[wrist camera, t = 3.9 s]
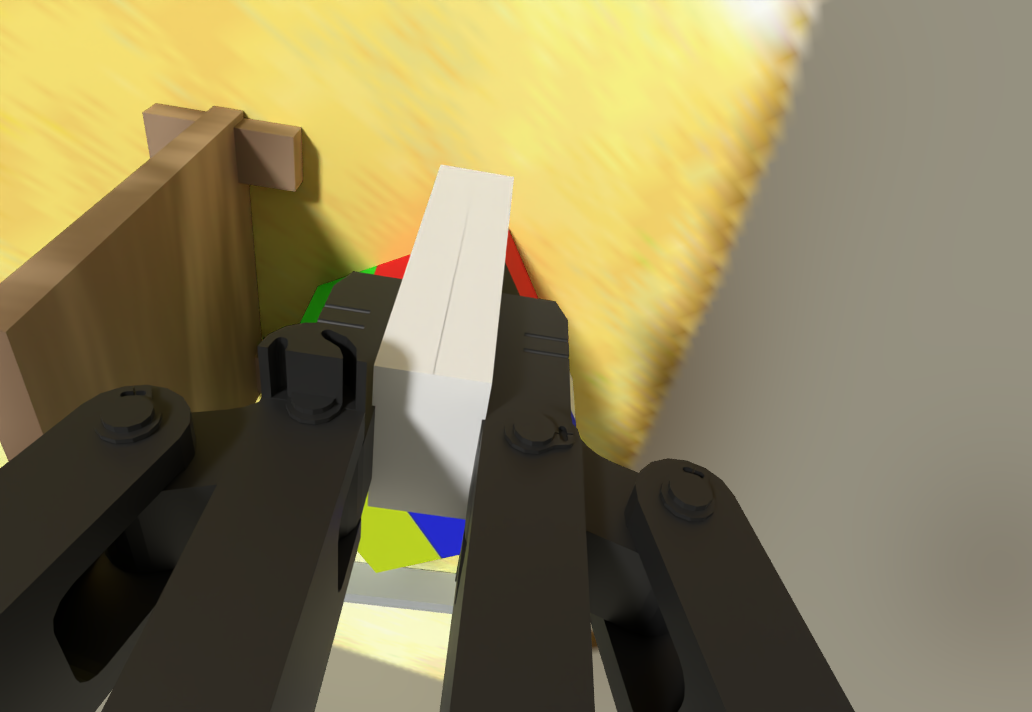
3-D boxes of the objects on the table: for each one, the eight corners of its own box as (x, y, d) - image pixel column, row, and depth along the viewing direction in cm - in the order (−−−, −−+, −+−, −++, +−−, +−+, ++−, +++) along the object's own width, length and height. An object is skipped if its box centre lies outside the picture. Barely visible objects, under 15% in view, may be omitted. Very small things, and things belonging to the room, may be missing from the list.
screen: (198, 373, 37) (23, 652, 24) (154, 96, 28) (-161, 309, 15) (309, 388, 38) (193, 669, 25) (301, 120, 29) (113, 346, 16)
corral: (291, 563, 47) (280, 594, 45) (282, 417, 39) (268, 448, 37) (544, 592, 49) (544, 624, 47) (588, 457, 40) (590, 489, 38)
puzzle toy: (572, 378, 37) (583, 527, 29) (408, 424, 39) (375, 573, 31) (505, 221, 31) (495, 351, 23) (318, 285, 34) (250, 423, 26)
